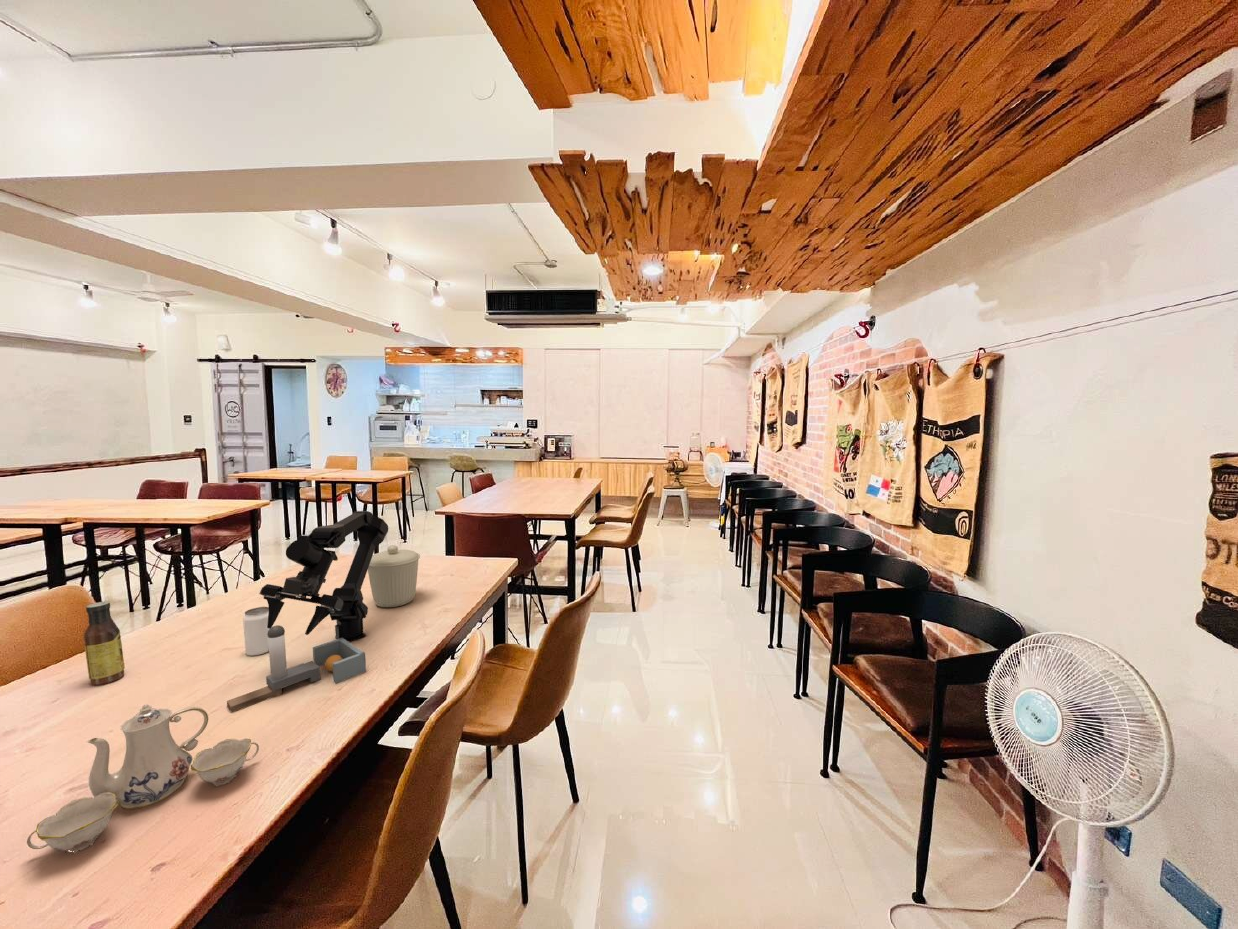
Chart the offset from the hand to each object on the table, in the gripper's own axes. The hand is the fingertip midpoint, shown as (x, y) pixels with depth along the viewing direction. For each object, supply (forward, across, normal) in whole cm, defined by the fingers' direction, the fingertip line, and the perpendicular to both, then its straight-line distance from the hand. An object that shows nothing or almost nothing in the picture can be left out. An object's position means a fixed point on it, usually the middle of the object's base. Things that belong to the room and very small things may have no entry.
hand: (287, 631), depth 121 cm
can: (+5, -14, +22) cm, 26 cm away
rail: (+16, 0, -1) cm, 16 cm away
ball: (+5, +11, +7) cm, 14 cm away
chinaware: (+32, +3, -26) cm, 41 cm away
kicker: (+11, +6, +3) cm, 13 cm away
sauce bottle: (+17, -42, +14) cm, 48 cm away
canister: (-18, +10, +48) cm, 52 cm away
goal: (+6, +12, +8) cm, 16 cm away
